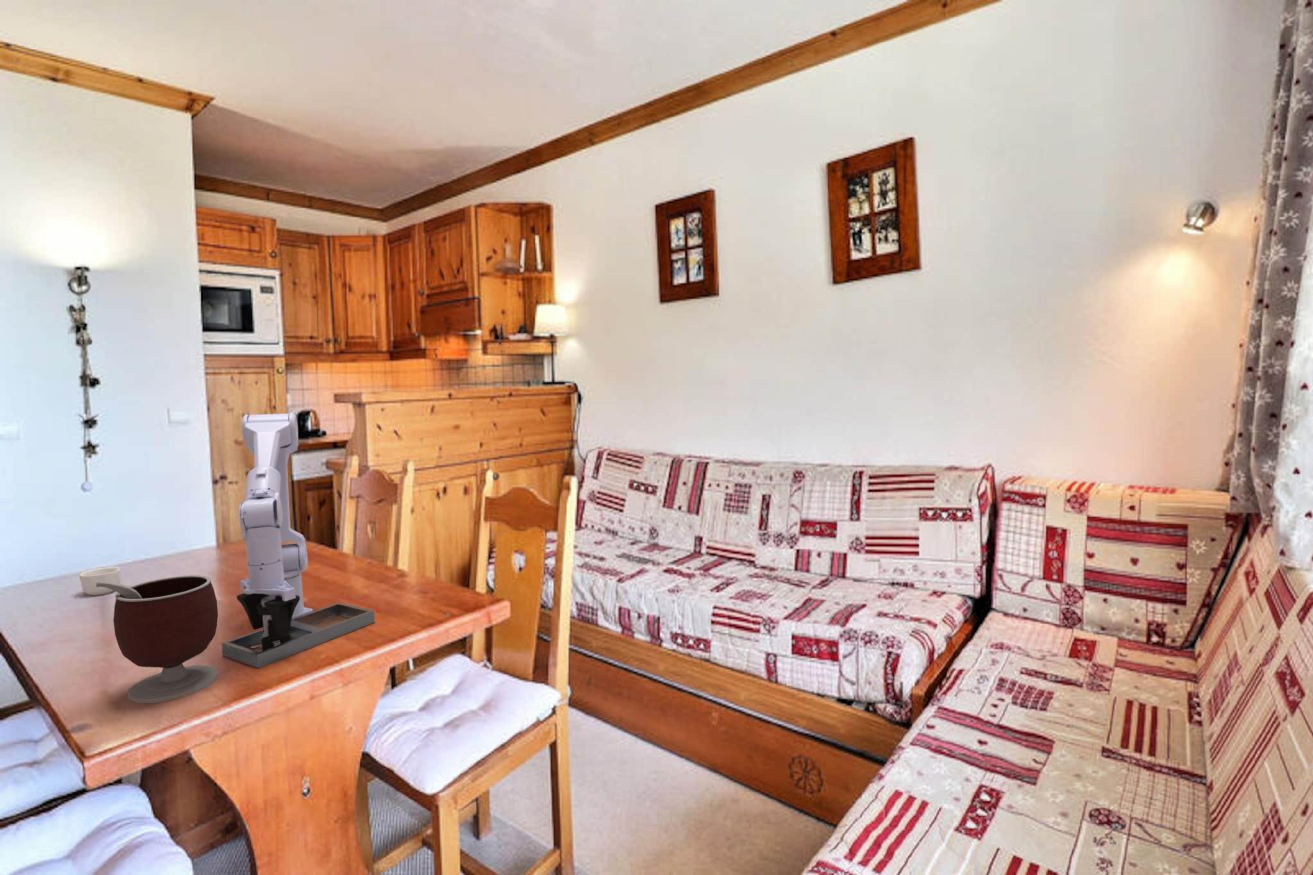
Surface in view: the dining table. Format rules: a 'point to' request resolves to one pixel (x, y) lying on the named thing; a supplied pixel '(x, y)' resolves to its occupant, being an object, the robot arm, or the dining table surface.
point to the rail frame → (300, 634)
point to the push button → (269, 628)
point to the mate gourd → (166, 633)
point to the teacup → (99, 580)
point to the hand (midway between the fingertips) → (270, 631)
